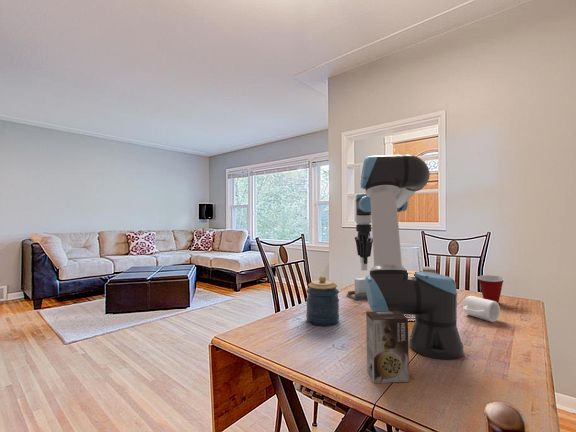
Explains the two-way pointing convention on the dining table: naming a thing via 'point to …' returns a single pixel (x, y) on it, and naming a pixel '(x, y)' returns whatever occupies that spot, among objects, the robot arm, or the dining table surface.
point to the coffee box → (387, 346)
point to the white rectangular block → (360, 285)
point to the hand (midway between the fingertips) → (364, 270)
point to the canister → (322, 302)
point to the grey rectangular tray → (356, 295)
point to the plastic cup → (491, 287)
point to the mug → (481, 308)
